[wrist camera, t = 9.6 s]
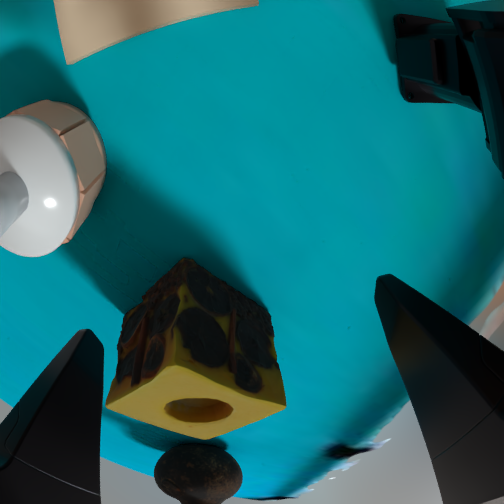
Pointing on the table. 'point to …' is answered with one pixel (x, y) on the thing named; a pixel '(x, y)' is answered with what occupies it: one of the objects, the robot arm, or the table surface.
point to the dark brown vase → (198, 474)
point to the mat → (125, 20)
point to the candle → (196, 357)
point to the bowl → (75, 149)
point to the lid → (35, 187)
